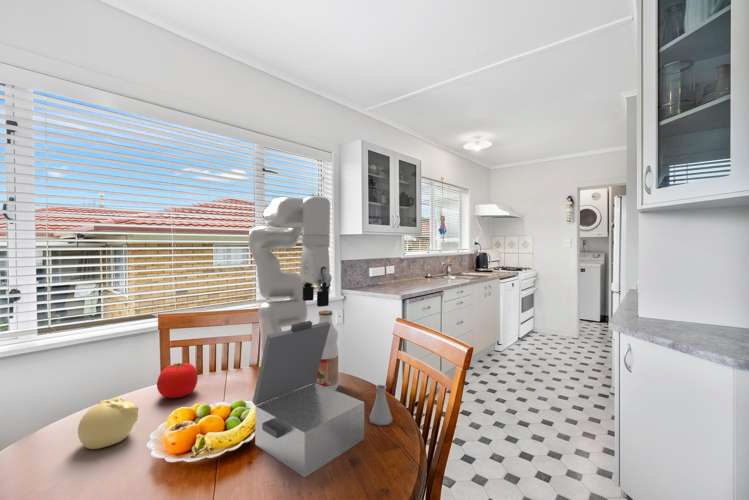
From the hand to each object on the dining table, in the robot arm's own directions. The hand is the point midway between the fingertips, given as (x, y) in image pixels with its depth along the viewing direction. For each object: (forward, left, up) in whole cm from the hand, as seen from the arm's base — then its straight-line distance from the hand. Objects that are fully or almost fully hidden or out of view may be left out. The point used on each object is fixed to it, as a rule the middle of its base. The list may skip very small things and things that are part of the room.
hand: (315, 303), depth 96 cm
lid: (-3, -5, -15) cm, 16 cm away
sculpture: (-37, -39, -36) cm, 65 cm away
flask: (+11, +16, -36) cm, 41 cm away
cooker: (+4, -5, -36) cm, 36 cm away
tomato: (-53, -16, -36) cm, 66 cm away
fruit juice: (-19, +21, -36) cm, 46 cm away
